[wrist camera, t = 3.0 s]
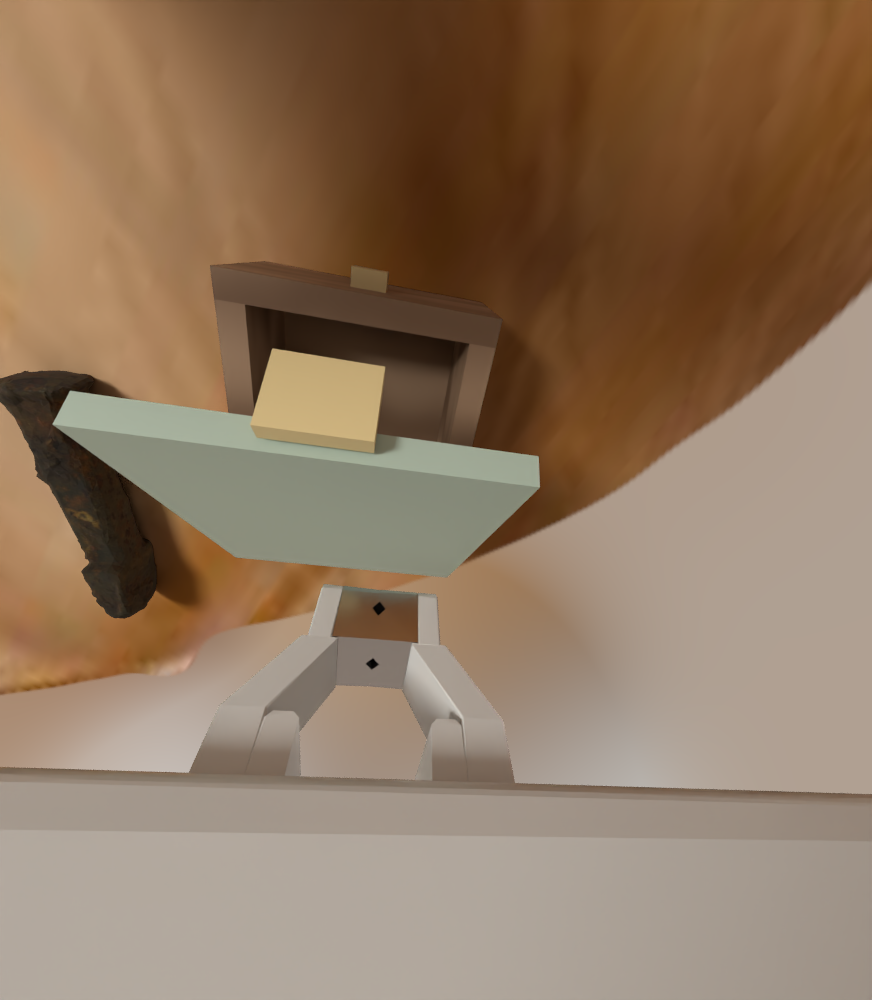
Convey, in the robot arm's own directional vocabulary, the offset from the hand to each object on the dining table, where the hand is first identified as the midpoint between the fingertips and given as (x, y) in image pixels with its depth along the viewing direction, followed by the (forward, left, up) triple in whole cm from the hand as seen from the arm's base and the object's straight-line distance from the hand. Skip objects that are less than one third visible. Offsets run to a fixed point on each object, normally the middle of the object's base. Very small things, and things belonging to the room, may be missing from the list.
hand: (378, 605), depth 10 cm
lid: (+1, -2, -8) cm, 8 cm away
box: (+1, -2, -17) cm, 18 cm away
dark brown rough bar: (+11, -19, -18) cm, 28 cm away
